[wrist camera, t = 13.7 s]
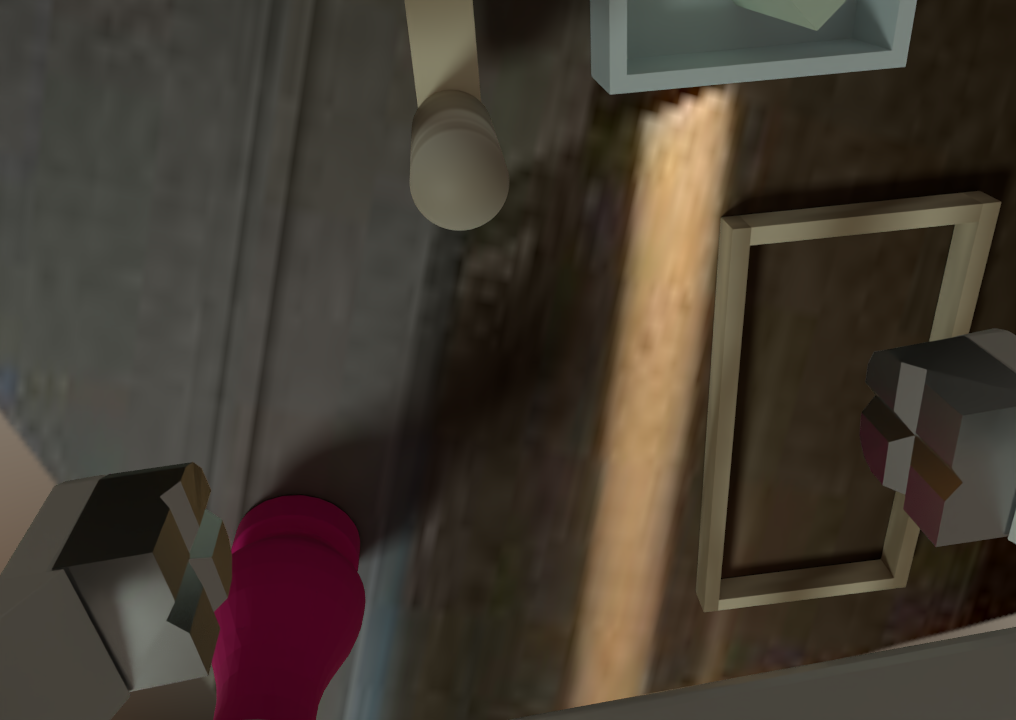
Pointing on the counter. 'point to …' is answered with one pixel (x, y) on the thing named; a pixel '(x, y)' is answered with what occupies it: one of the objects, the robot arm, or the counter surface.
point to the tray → (737, 42)
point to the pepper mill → (287, 609)
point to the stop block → (795, 10)
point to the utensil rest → (736, 235)
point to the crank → (451, 120)
